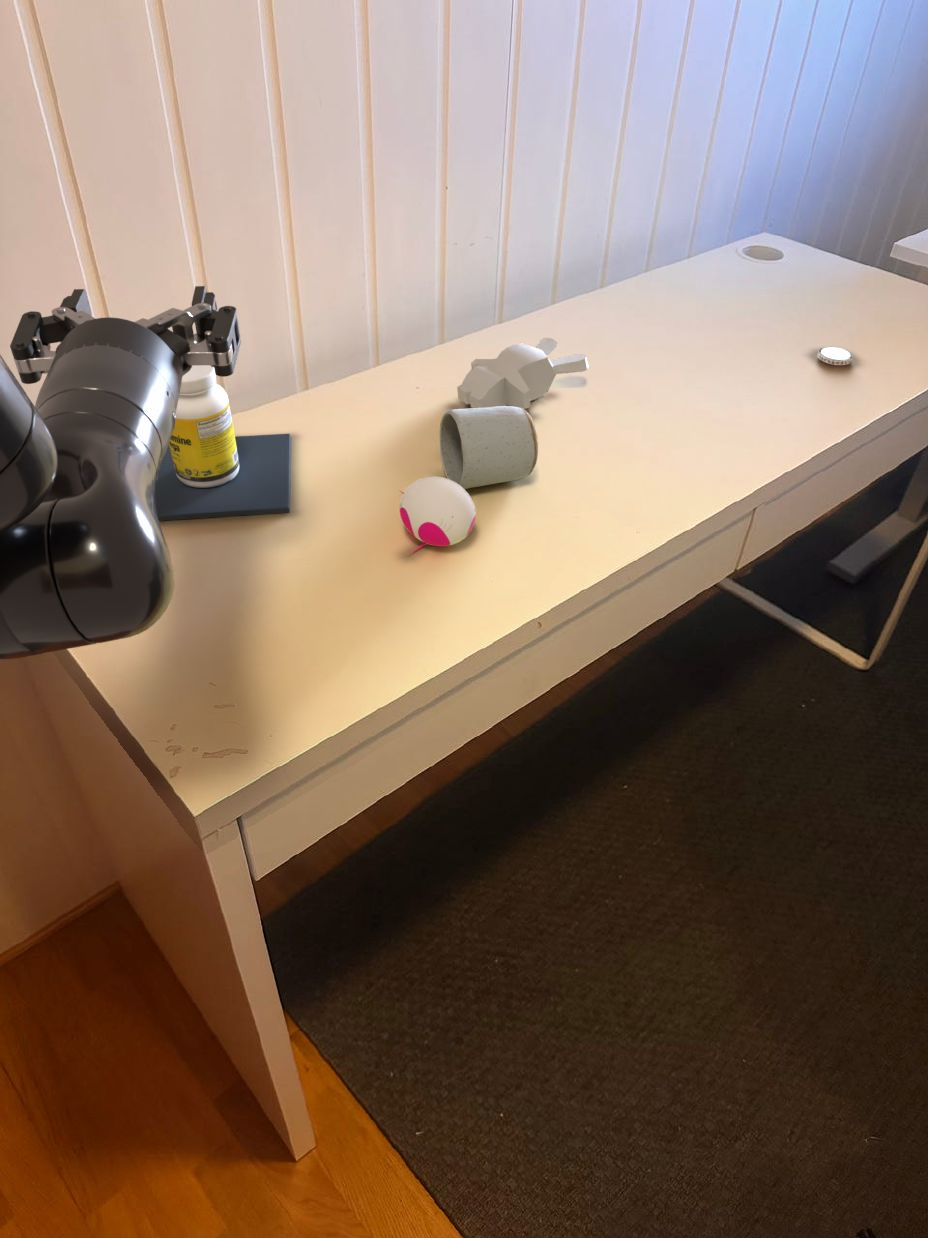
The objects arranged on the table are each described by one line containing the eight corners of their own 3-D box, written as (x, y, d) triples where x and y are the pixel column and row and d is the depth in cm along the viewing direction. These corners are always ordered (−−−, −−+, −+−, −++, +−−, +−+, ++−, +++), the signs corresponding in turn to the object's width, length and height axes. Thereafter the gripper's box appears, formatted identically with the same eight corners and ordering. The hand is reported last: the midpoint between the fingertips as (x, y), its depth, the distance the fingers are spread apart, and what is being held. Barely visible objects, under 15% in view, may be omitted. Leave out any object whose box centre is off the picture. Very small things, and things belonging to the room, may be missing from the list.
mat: (137, 522, 83) (135, 517, 83) (155, 445, 93) (154, 440, 93) (289, 512, 85) (288, 507, 84) (290, 438, 95) (289, 433, 95)
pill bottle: (165, 470, 89) (140, 366, 81) (221, 450, 92) (202, 348, 84) (194, 497, 85) (171, 391, 78) (252, 476, 88) (234, 371, 81)
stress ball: (397, 558, 85) (362, 527, 79) (443, 489, 86) (412, 453, 80) (455, 590, 81) (423, 560, 75) (503, 518, 82) (475, 482, 76)
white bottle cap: (855, 365, 110) (856, 360, 110) (822, 364, 110) (824, 359, 110) (845, 351, 113) (847, 346, 113) (813, 350, 113) (815, 345, 113)
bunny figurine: (440, 364, 100) (541, 317, 106) (444, 404, 103) (542, 356, 109) (494, 396, 94) (597, 345, 100) (496, 437, 98) (596, 385, 104)
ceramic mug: (540, 490, 88) (545, 419, 83) (462, 505, 86) (463, 433, 81) (499, 440, 96) (502, 372, 91) (427, 452, 93) (426, 384, 88)
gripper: (220, 342, 52) (234, 245, 64) (-36, 351, 51) (27, 250, 63) (238, 454, 57) (248, 344, 69) (5, 465, 56) (56, 351, 68)
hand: (143, 300), depth 66 cm, fingers open, 8 cm apart
